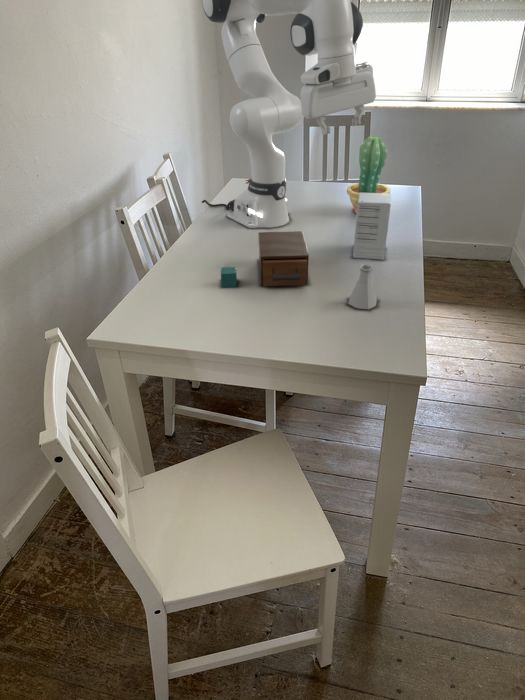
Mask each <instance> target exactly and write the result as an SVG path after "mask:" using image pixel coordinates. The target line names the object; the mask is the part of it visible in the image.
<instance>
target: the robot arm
mask: <svg viewBox="0 0 525 700" xmlns="http://www.w3.org/2000/svg"><path fill="white" fill-rule="evenodd" d="M201 3H202V8H203V12H204V14H205V16H206V18H207V19H208V20H209V21H210V22H213V23H218V24H222V28H221V39H222V46H223V49H224V53H225V56H226V60H227V62H228V65H229V67H230V71H231V73H232V75H233V78H234V81H235V84H236V86H237V87H238V88H239V90H240V91H242V92H243V93H245V94H247V95H249V96H250V97H251V98H248V99H245V100H242V101H240V102H238V103H236V104H234V105H233V106H232V108H231V110H230V112H229V113H230V114H229V124H230V128H231V130H232V131H233V133H234V134H235V136H237V137H238V138H239V139H241V141H242V142H243V144H245V146H246V148H247V150H248V153H249V159H250V160H249V161H250V175H251V176H250V178H249V179H246V180H245V184H246V185H247V184H248V185H247V189H245V190H244V191H243V192H242V193H241V194H240V195H238V196H237V197H236V198H234V199H233V200H229V202H228V203H227V204H226V203H216V204H212V203H210V202H209V201H208V200H206V199H202V201H201V203H202V204H204V203H205V204H206V205H208V206H209V207H211V208H214V207H225V208H226V209H227V210H230V211H228V212H227V218H229V219H231V220H233V221H234V222H237V223H239V224H241V225H243V226H245V227H246V228H248V229H257V228H263V229H268V228H277V227H278V228H279V227H282V226H285V225H286V224H288V223H289V222H290V218H289V212H288V206H287V201H288V199H287V198H286V197H287V196H286V192H287V179H286V155H285V154H284V152H283V151H282V150H281V149H280V148H278V147H277V146H275V145H274V143H273V136H274V135H277V134H283V133H288V132H290V131H293V130H295V129H296V128H298V127H300V126H301V125H302V124H303V120H304V119H308V120H315V121H316V123H317V124H318V126H319V127H320V132H321V135H323V136H326V135H330V134H331V127H330V125H327V124H326V123H325V121H326V116H329V115H331V114H336V113H339V112H343V111H347V110H349V109H354V111H355V114H354V117H352V118H351V125H352V126H353V127H358V126H360V125H361V124H362V120H361V119H362V116H363V113H364V111H365V105H368V104H371V103H374V102H375V100H376V98H377V94H376V93H377V92H376V84H375V79H374V69H373V68H374V67H373V66H372V65H371V64H370V63H368V62H366V61H365V62H361V63H356V50H355V47H354V46H355V45H356V44H357V42H358V41H359V39H360V36H361V35H362V32H363V28H364V19H363V15H362V13H361V11H360V9H359V8H358V6H357V5H356V4H355V3H353V2H352V0H201ZM285 15H295V16H294V17H293V19H292V22H291V25H290V30H289V31H290V41H291V44H292V47H293V48H294V49H295V51H296V52H297V53H298V54H299V55H301V56H308V57H309V56H313V55H317V63H315V65H313V66H312V67H310V68H309V69H308V70H306V71H304V72H303V73H302V74H301V75H300V82H301V84H302V85H303V86H302V87H301V90H300V98H299V97H298V95H297V96H296V95H295V94H293V93H291V92H289V90H287V89H286V88H285V86H284V85H282V84H281V83H280V81H279V80H278V79H277V78H276V76H275V75H274V73H273V72H272V69H271V67H270V65H269V62H268V60H267V57H266V56H265V52H264V50H263V47H262V45H261V42H260V39H259V37H258V34H257V31H256V23H258V24H262V23H264V22H265V19H266V17H267V16H268V17H277V16H285Z"/></svg>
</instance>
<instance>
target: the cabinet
mask: <svg viewBox="0 0 525 700" xmlns="http://www.w3.org/2000/svg"><path fill="white" fill-rule="evenodd" d="M304 235H305V234H304V232H303V231H302V230H300V231H297V230H295V231H261V232H259V231H258V265H259V277H260V279H259V280H260V287H264V286H263V261H264V259H289V258H303V259H307V275H306V285H305V286H307V285H308V283H309V257H310V255H309V251H308V247H307V243H306V240H305V236H304ZM277 286H280V285H277ZM277 286H276V287H277Z"/></svg>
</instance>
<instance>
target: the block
mask: <svg viewBox="0 0 525 700" xmlns="http://www.w3.org/2000/svg"><path fill="white" fill-rule="evenodd" d="M237 277H238V275H237V267H236V266H226V267H225V266H224V267H220V281H221V284H220V285H221V288H237V287H238V285H237V284H238V283H237V282H238V281H237Z"/></svg>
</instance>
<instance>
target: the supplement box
mask: <svg viewBox="0 0 525 700" xmlns="http://www.w3.org/2000/svg"><path fill="white" fill-rule="evenodd" d="M391 197H392V195H391V193H390V194H385V193H359V200H358V204H357V213H356V215H355V216H356V217H355V229H354V239H353V240H354V241H353V251H352V258H355V259H367V260H382V261H383V260H384V259H385V255H386V254H385V253H386V246H387V237H388V232H389V223H390V222H389V221H390V214H391V206H392V203H391V199H392V198H391Z"/></svg>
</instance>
